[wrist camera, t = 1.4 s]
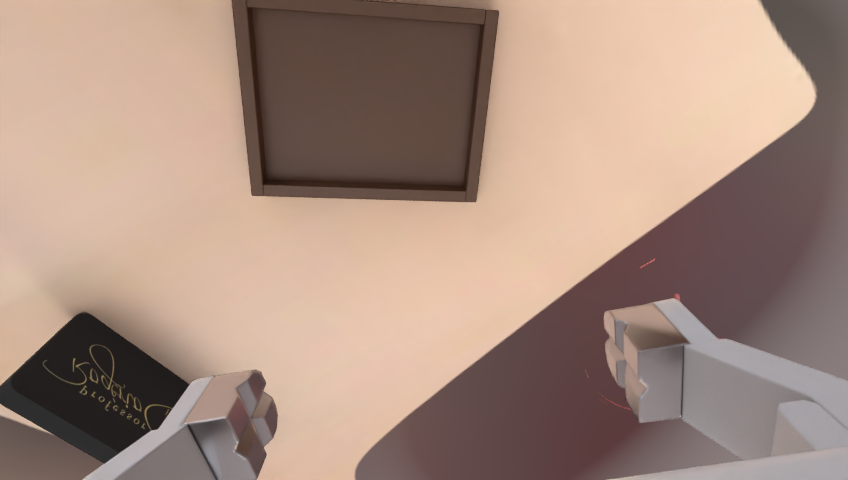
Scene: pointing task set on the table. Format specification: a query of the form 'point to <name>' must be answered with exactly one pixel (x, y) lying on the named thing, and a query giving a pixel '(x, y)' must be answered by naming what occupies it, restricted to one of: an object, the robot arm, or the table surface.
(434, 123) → the walnut tray
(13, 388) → the nameplate
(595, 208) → the table surface
